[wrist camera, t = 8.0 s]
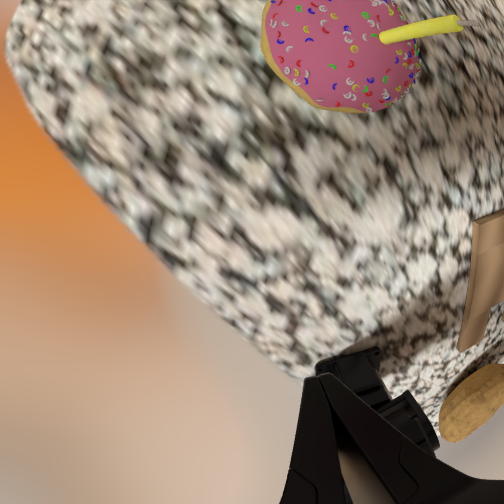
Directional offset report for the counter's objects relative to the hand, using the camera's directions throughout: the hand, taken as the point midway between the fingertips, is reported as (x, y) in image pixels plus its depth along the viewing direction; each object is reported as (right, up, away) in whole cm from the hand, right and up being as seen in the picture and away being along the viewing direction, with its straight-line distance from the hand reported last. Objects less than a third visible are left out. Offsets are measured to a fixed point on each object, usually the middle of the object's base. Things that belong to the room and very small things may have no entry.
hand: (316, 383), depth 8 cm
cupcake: (+2, +16, +7) cm, 18 cm away
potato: (+29, -15, +22) cm, 39 cm away
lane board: (+27, +2, +14) cm, 31 cm away
